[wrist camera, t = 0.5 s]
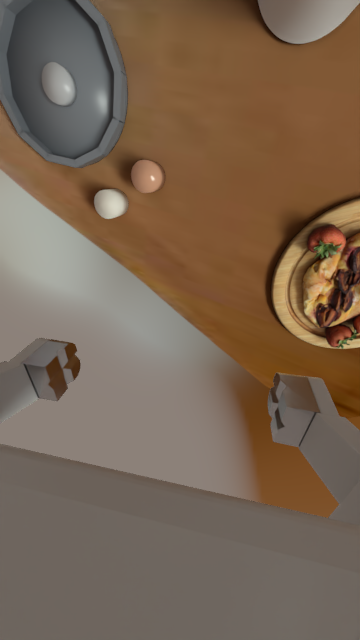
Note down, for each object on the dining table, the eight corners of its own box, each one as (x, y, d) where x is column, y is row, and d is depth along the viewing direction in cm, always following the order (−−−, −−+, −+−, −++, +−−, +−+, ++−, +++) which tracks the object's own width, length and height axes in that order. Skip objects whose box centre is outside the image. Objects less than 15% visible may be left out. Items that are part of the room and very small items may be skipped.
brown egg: (141, 158, 44) (132, 156, 40) (167, 164, 44) (160, 163, 40) (139, 188, 47) (130, 189, 43) (163, 194, 47) (156, 195, 43)
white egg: (106, 186, 48) (93, 187, 44) (129, 191, 48) (119, 193, 44) (105, 212, 51) (94, 215, 46) (127, 217, 50) (118, 221, 46)
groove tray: (-8, -25, 36) (-26, -40, 33) (132, 1, 34) (124, -13, 32) (19, 152, 48) (7, 151, 45) (123, 177, 46) (117, 177, 44)
